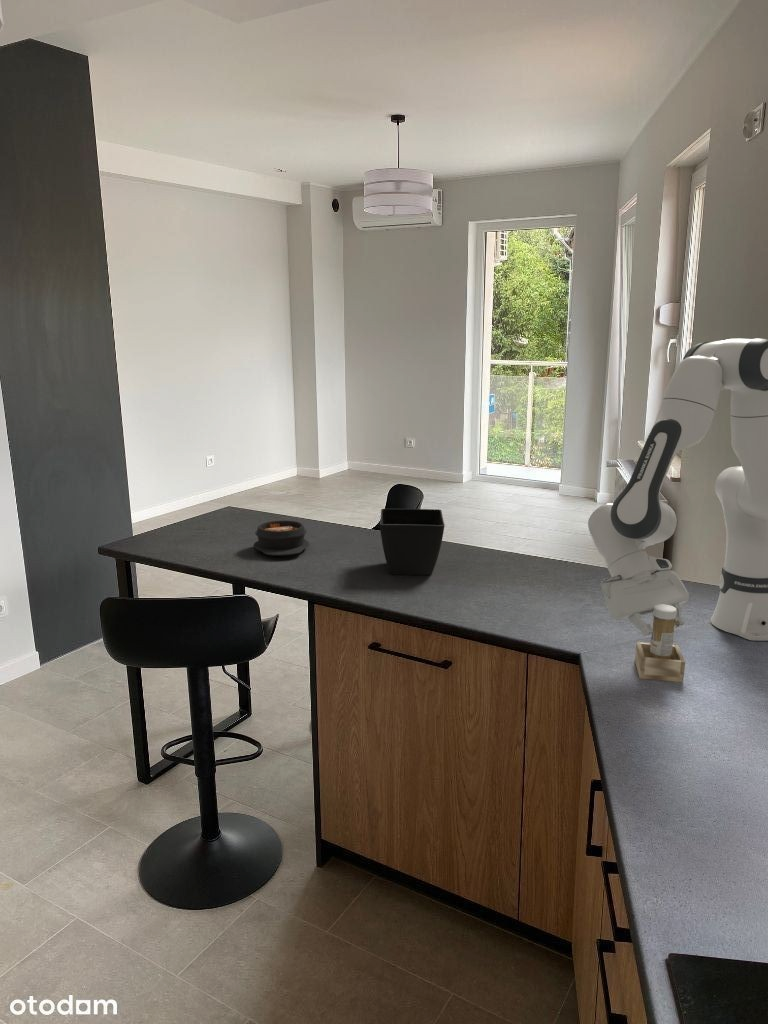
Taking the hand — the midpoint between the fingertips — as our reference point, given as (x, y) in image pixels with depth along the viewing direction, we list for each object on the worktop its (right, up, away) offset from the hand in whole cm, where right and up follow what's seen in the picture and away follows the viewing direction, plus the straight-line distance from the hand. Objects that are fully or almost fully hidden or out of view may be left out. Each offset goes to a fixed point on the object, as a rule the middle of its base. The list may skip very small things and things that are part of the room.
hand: (664, 630), depth 153 cm
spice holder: (0, -9, +3) cm, 10 cm away
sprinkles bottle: (0, -8, +2) cm, 9 cm away
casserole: (-93, +12, +91) cm, 131 cm away
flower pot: (-51, +7, +71) cm, 88 cm away
